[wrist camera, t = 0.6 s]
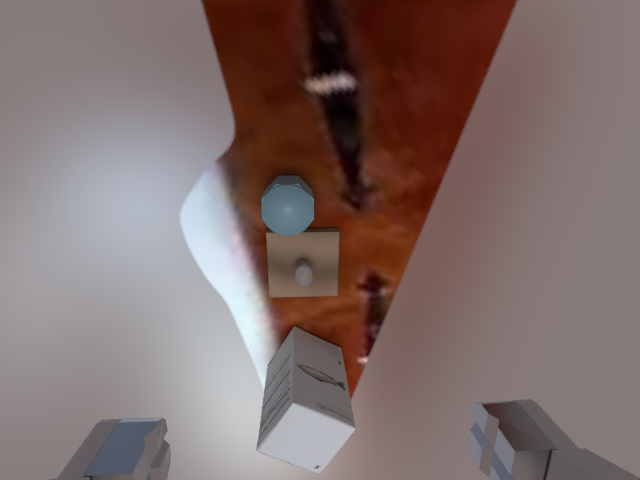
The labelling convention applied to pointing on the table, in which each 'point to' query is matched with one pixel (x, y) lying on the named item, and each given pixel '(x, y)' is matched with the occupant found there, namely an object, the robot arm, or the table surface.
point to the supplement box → (305, 403)
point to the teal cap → (287, 205)
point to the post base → (303, 248)
